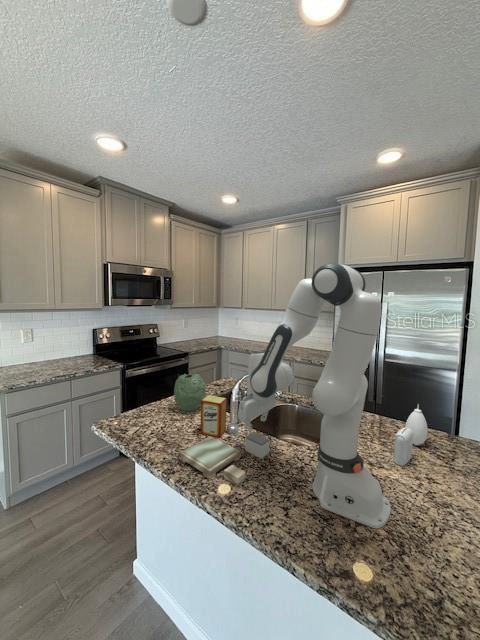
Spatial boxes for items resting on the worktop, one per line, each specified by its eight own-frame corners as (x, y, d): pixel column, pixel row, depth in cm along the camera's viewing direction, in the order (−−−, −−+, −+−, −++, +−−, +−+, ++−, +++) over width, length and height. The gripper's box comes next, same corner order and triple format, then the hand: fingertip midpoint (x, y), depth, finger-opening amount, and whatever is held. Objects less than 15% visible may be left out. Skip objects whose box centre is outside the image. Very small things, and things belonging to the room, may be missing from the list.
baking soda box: (225, 431, 123) (226, 397, 122) (220, 438, 117) (220, 402, 116) (206, 427, 126) (207, 394, 125) (200, 434, 120) (201, 399, 119)
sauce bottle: (411, 438, 122) (414, 399, 120) (430, 446, 115) (433, 405, 113) (400, 441, 118) (403, 401, 117) (418, 451, 111) (422, 408, 110)
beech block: (245, 480, 91) (245, 472, 91) (237, 486, 88) (237, 478, 88) (232, 472, 95) (232, 464, 95) (224, 478, 92) (224, 470, 92)
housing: (268, 453, 107) (269, 438, 107) (261, 458, 103) (261, 443, 103) (252, 445, 112) (253, 431, 112) (245, 450, 108) (245, 436, 108)
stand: (240, 458, 103) (240, 450, 103) (209, 479, 91) (209, 470, 90) (210, 443, 113) (210, 435, 113) (179, 460, 101) (179, 451, 101)
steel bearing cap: (239, 432, 123) (240, 425, 123) (232, 436, 120) (232, 429, 119) (231, 428, 127) (231, 422, 126) (224, 432, 123) (224, 425, 123)
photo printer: (400, 452, 110) (403, 423, 109) (412, 457, 107) (415, 427, 106) (391, 462, 103) (393, 431, 102) (404, 468, 100) (406, 435, 99)
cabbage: (182, 402, 156) (182, 368, 154) (211, 407, 149) (212, 372, 147) (165, 412, 141) (165, 375, 139) (197, 419, 135) (198, 380, 133)
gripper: (248, 400, 96) (246, 437, 97) (279, 387, 111) (277, 419, 113) (234, 395, 100) (233, 431, 101) (266, 383, 115) (264, 414, 117)
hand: (256, 424), depth 107 cm, fingers open, 8 cm apart
